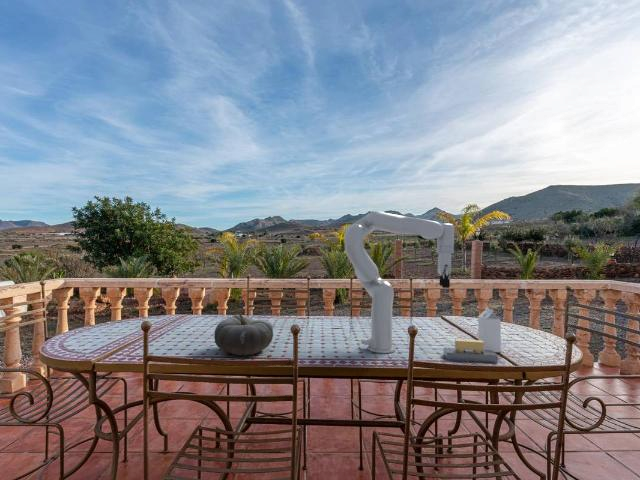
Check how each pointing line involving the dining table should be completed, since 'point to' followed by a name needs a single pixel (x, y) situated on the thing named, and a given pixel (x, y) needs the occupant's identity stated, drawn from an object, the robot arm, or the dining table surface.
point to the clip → (469, 345)
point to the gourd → (243, 335)
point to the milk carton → (489, 330)
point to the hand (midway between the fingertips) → (444, 286)
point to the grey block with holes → (470, 355)
